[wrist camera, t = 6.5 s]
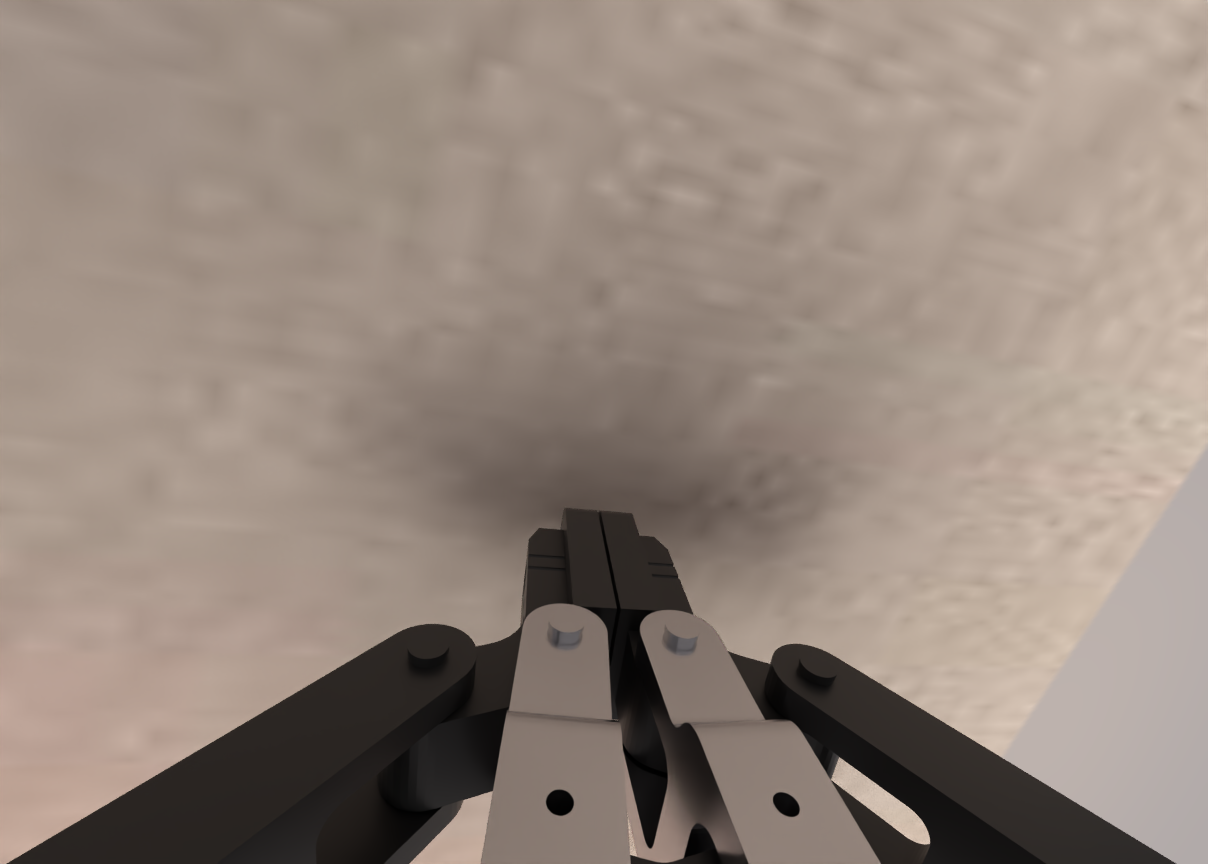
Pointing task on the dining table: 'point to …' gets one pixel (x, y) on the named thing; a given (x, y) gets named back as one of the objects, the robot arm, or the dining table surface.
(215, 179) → the dining table surface
